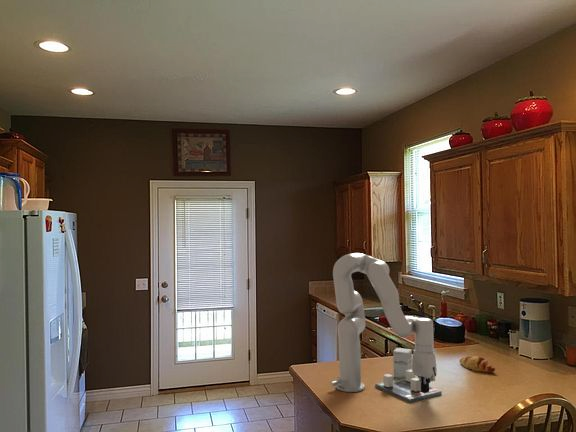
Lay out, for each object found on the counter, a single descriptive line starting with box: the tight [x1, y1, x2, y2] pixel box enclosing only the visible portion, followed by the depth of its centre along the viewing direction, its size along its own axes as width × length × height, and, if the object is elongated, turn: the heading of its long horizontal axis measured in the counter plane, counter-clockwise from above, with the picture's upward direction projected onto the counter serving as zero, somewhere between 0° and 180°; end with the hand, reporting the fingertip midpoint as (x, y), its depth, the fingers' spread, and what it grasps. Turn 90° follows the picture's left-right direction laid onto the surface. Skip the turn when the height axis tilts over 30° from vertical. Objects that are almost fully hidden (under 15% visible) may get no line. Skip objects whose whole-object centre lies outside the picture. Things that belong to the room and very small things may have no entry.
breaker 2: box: [406, 369, 416, 382], centre depth 215 cm, size 3×3×4 cm
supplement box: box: [392, 347, 413, 379], centre depth 227 cm, size 7×7×13 cm
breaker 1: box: [382, 373, 394, 387], centre depth 209 cm, size 3×3×4 cm
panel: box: [374, 377, 442, 404], centre depth 208 cm, size 18×22×2 cm
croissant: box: [459, 355, 496, 373], centre depth 238 cm, size 21×10×8 cm, turn 30°
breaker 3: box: [411, 377, 421, 391], centre depth 203 cm, size 3×3×4 cm
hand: (425, 392), depth 198 cm, fingers closed
